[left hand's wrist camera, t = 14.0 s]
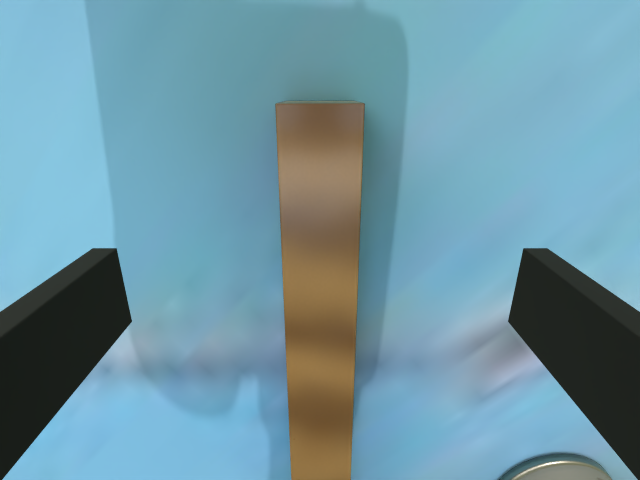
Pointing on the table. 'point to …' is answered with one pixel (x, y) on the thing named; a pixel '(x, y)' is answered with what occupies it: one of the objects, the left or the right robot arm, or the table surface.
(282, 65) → the table surface
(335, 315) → the block
